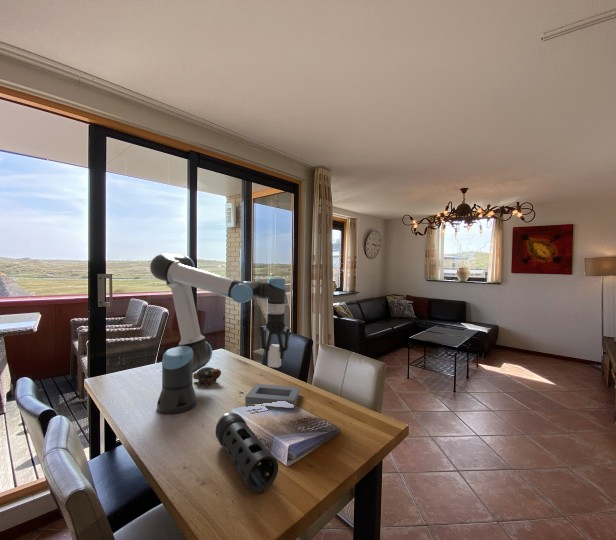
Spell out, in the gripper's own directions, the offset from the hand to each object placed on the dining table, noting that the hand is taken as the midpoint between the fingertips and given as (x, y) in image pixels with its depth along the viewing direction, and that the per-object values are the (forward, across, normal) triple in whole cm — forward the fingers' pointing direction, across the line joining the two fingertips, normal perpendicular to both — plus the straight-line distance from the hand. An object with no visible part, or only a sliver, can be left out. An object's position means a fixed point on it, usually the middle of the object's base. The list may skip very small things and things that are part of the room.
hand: (274, 365), depth 132 cm
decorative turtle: (+16, -37, +11) cm, 42 cm away
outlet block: (+15, 0, 0) cm, 15 cm away
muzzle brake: (+16, +2, -43) cm, 46 cm away
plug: (0, 0, 0) cm, 0 cm away
